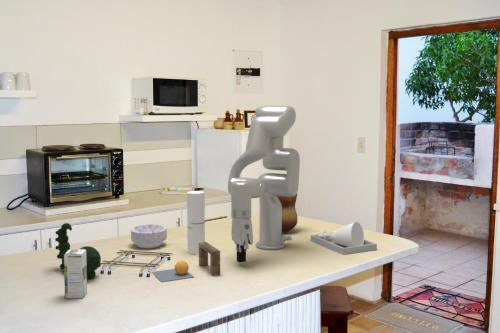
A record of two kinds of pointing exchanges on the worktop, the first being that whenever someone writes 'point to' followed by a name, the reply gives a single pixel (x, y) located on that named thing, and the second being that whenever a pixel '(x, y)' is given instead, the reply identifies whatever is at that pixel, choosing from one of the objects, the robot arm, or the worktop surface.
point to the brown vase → (288, 212)
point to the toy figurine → (91, 253)
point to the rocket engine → (346, 235)
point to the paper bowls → (148, 235)
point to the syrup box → (75, 273)
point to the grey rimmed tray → (348, 250)
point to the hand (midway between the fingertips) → (241, 261)
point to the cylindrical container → (195, 220)
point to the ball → (181, 267)
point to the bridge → (214, 257)
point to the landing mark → (171, 275)
